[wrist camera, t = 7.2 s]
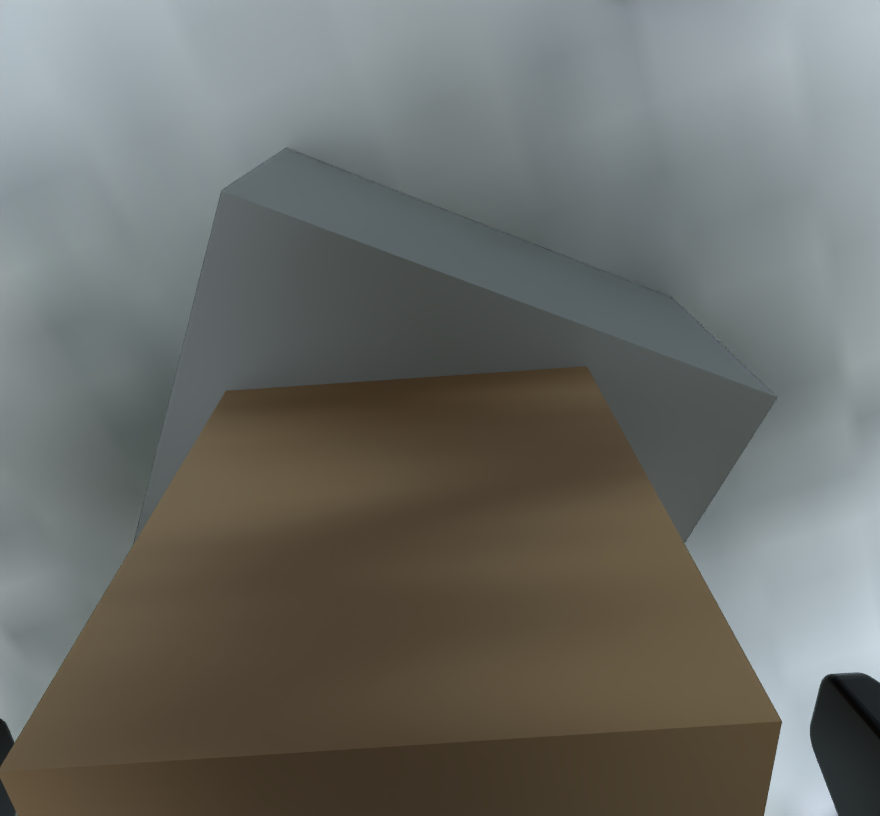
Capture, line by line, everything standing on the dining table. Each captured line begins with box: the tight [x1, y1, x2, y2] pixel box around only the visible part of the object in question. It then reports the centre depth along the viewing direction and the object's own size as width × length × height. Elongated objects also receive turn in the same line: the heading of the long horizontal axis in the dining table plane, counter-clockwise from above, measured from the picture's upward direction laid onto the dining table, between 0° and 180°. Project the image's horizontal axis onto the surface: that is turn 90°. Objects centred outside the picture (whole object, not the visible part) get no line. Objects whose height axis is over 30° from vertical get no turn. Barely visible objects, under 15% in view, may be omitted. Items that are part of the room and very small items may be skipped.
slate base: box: [133, 148, 777, 545], centre depth 13 cm, size 8×8×5 cm
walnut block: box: [0, 366, 782, 816], centre depth 8 cm, size 5×5×6 cm
